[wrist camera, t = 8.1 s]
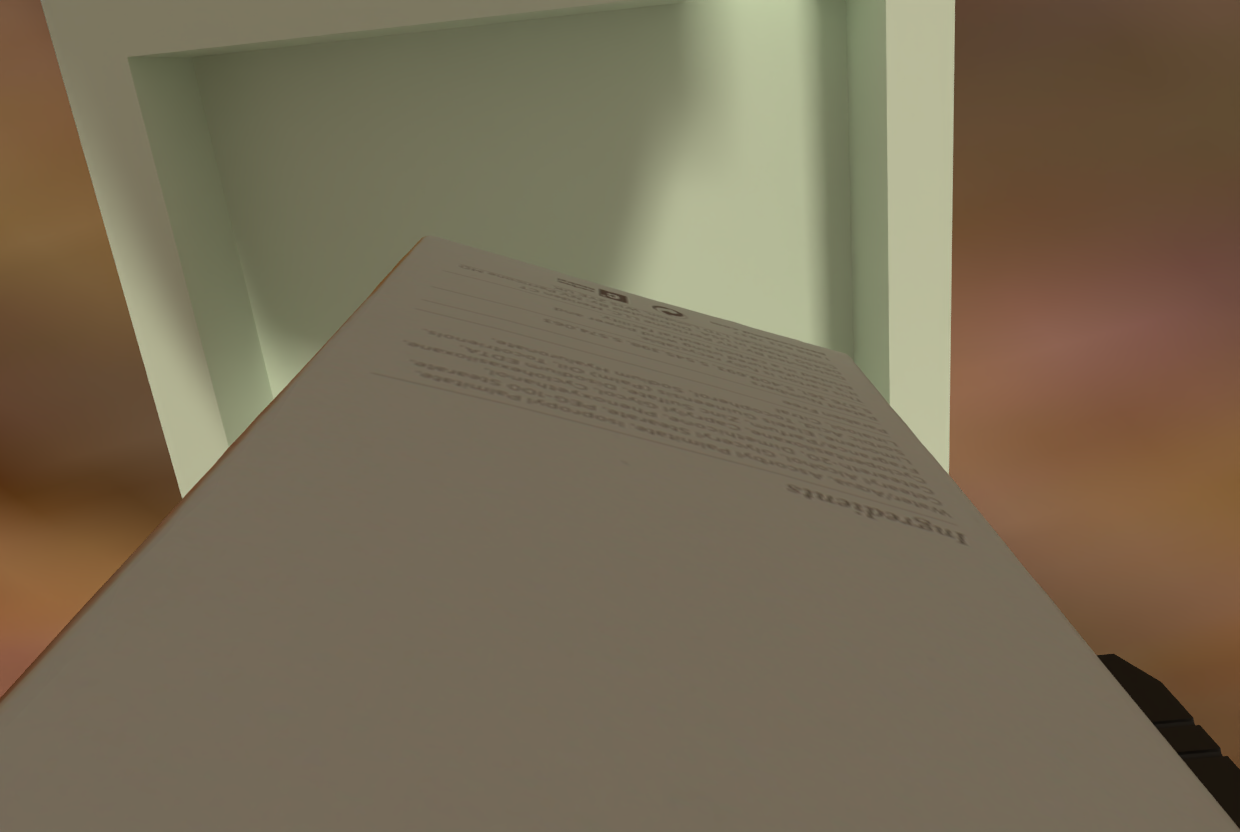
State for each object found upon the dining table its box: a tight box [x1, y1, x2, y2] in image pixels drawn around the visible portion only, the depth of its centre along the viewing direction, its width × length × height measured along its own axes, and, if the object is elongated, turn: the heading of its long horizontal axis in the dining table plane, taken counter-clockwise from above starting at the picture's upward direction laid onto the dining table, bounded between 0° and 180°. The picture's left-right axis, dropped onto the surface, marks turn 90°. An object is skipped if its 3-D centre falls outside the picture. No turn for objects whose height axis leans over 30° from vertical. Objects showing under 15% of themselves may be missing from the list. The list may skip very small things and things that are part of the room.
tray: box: [41, 0, 955, 499], centre depth 18 cm, size 13×17×3 cm
